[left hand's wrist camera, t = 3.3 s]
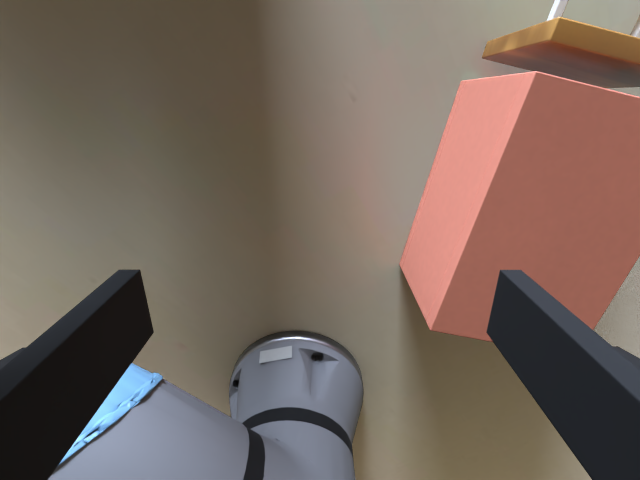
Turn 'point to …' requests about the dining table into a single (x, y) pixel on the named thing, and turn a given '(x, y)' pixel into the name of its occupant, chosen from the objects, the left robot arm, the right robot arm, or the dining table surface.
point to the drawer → (572, 51)
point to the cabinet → (527, 199)
